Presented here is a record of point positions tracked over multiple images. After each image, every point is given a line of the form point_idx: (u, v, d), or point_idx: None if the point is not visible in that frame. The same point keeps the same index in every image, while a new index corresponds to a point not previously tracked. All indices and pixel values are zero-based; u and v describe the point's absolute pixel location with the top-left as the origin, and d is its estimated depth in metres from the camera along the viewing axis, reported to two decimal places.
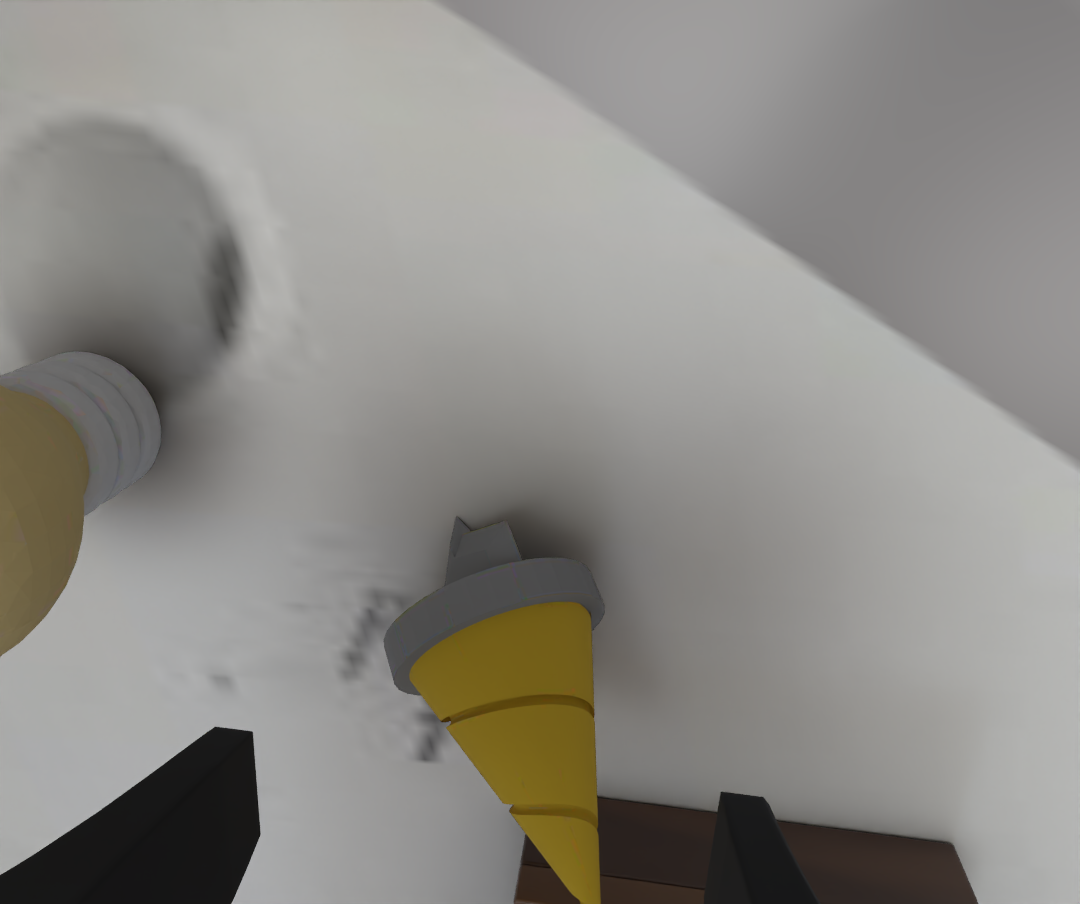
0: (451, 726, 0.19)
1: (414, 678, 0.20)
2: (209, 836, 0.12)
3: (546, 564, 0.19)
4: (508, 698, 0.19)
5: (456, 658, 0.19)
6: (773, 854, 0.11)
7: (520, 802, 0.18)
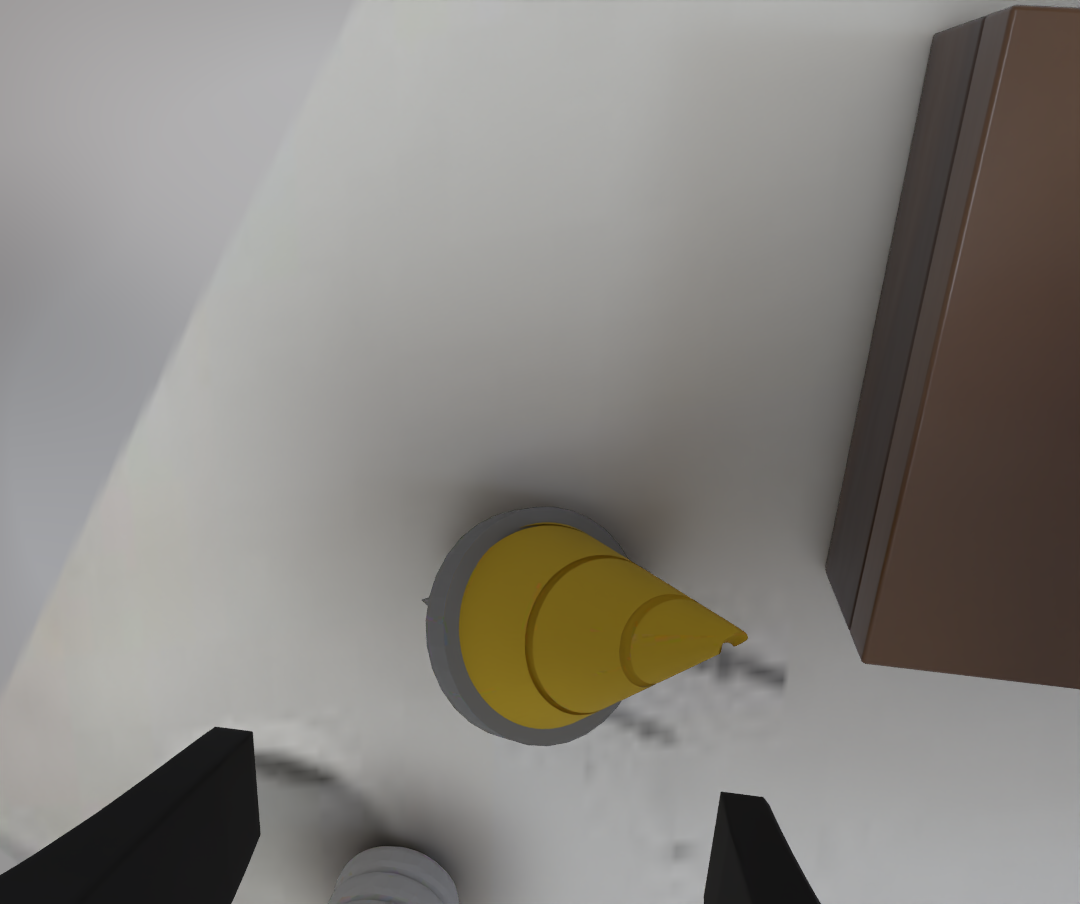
0: (580, 712, 0.18)
1: (550, 727, 0.19)
2: (209, 836, 0.12)
3: (437, 581, 0.19)
4: (533, 658, 0.17)
5: (499, 696, 0.18)
6: (773, 854, 0.11)
7: (626, 678, 0.16)
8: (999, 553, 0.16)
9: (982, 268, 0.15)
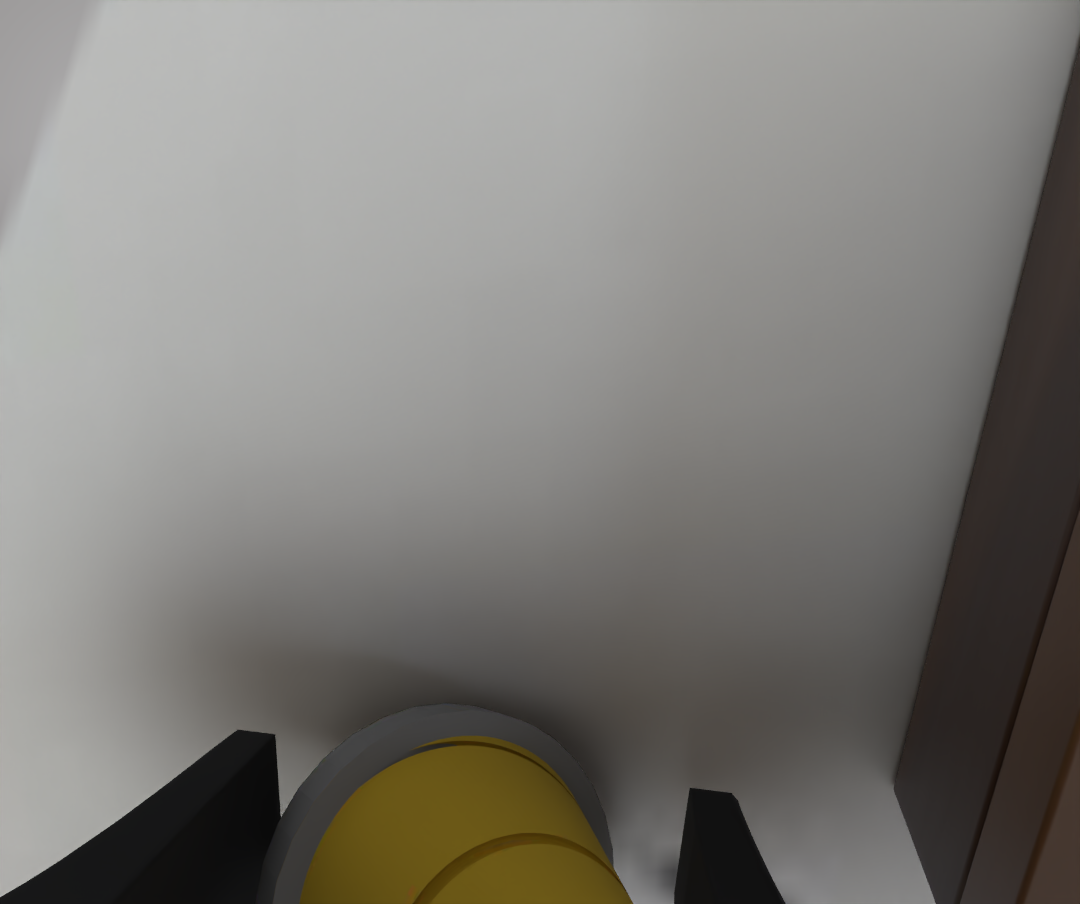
0: None
1: None
2: (234, 840, 0.12)
3: (275, 838, 0.12)
4: None
5: None
6: (738, 849, 0.11)
7: None
8: None
9: None
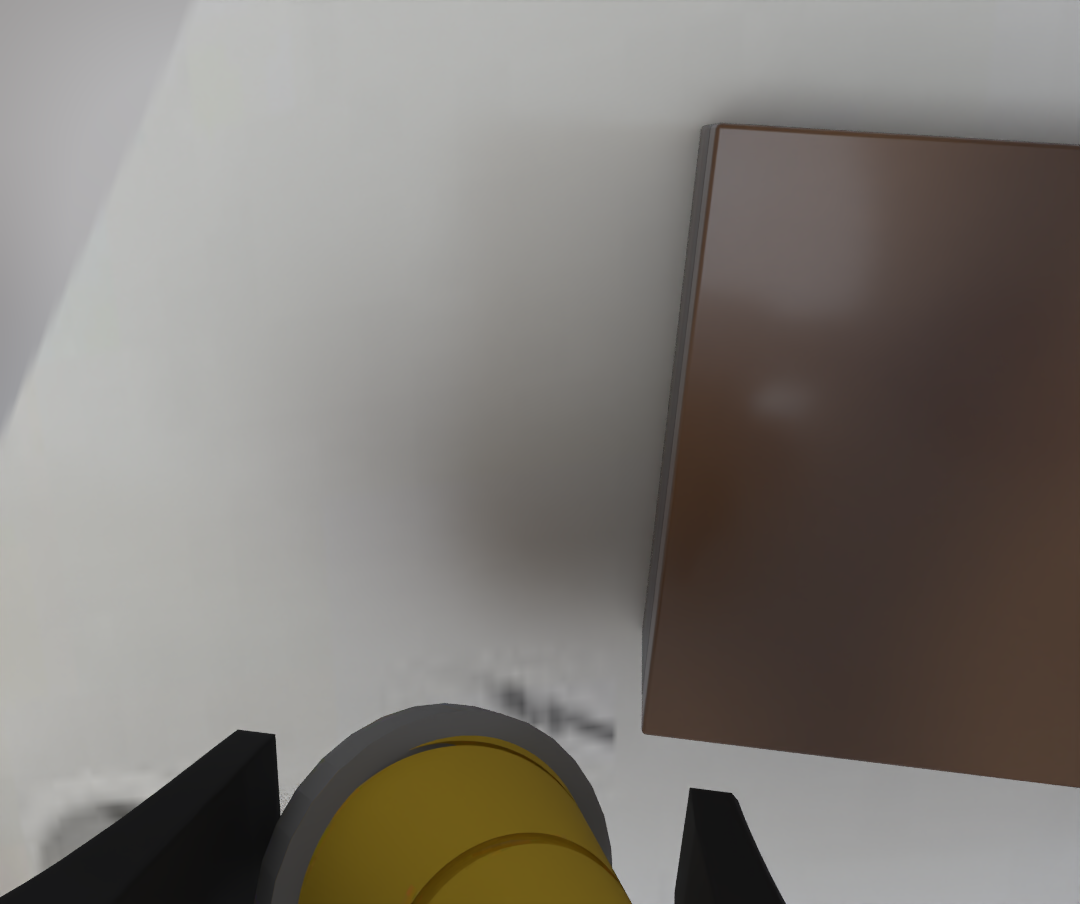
0: None
1: None
2: (234, 840, 0.12)
3: (274, 838, 0.12)
4: None
5: None
6: (738, 849, 0.11)
7: None
8: (759, 632, 0.17)
9: (714, 366, 0.15)
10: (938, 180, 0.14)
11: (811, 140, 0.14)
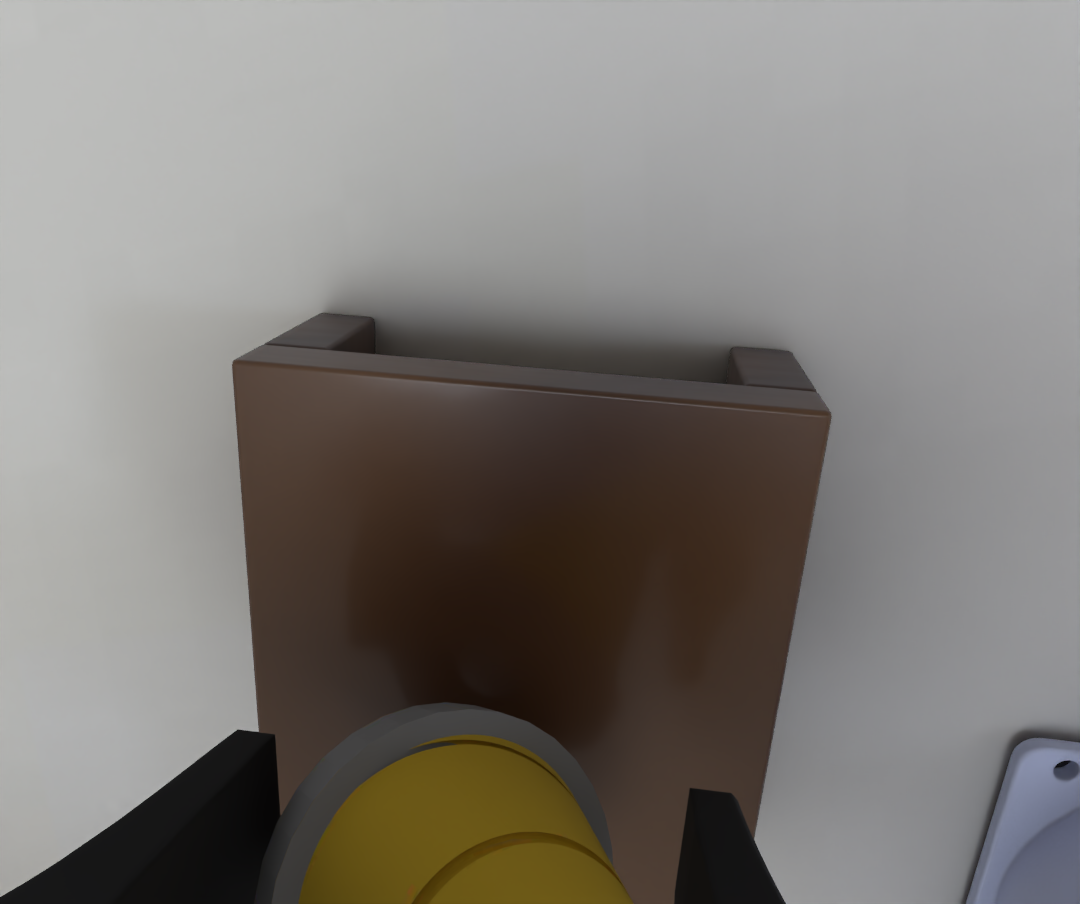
0: None
1: None
2: (234, 840, 0.12)
3: (274, 838, 0.12)
4: None
5: None
6: (738, 849, 0.11)
7: None
8: None
9: (272, 582, 0.15)
10: (447, 418, 0.14)
11: (322, 378, 0.14)
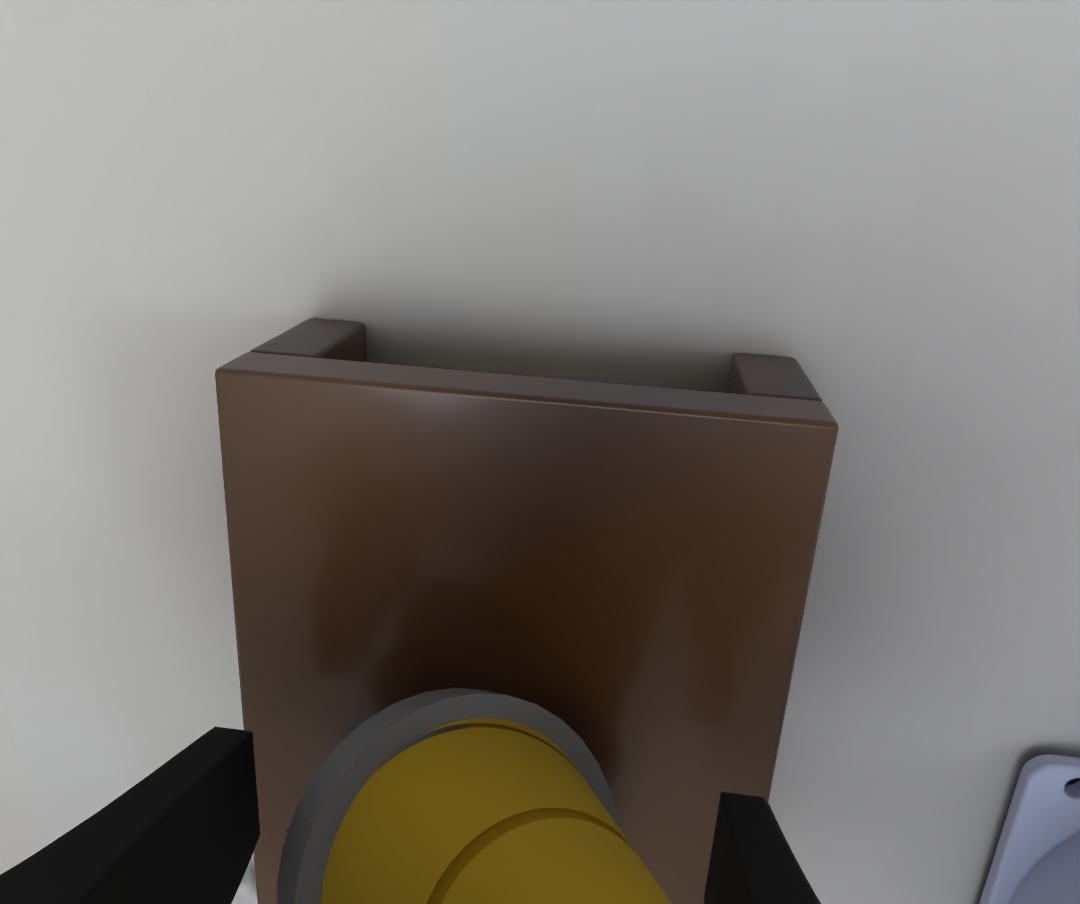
0: None
1: None
2: (209, 836, 0.12)
3: (295, 824, 0.12)
4: None
5: None
6: (773, 854, 0.11)
7: None
8: None
9: (258, 597, 0.15)
10: (439, 429, 0.13)
11: (308, 388, 0.13)
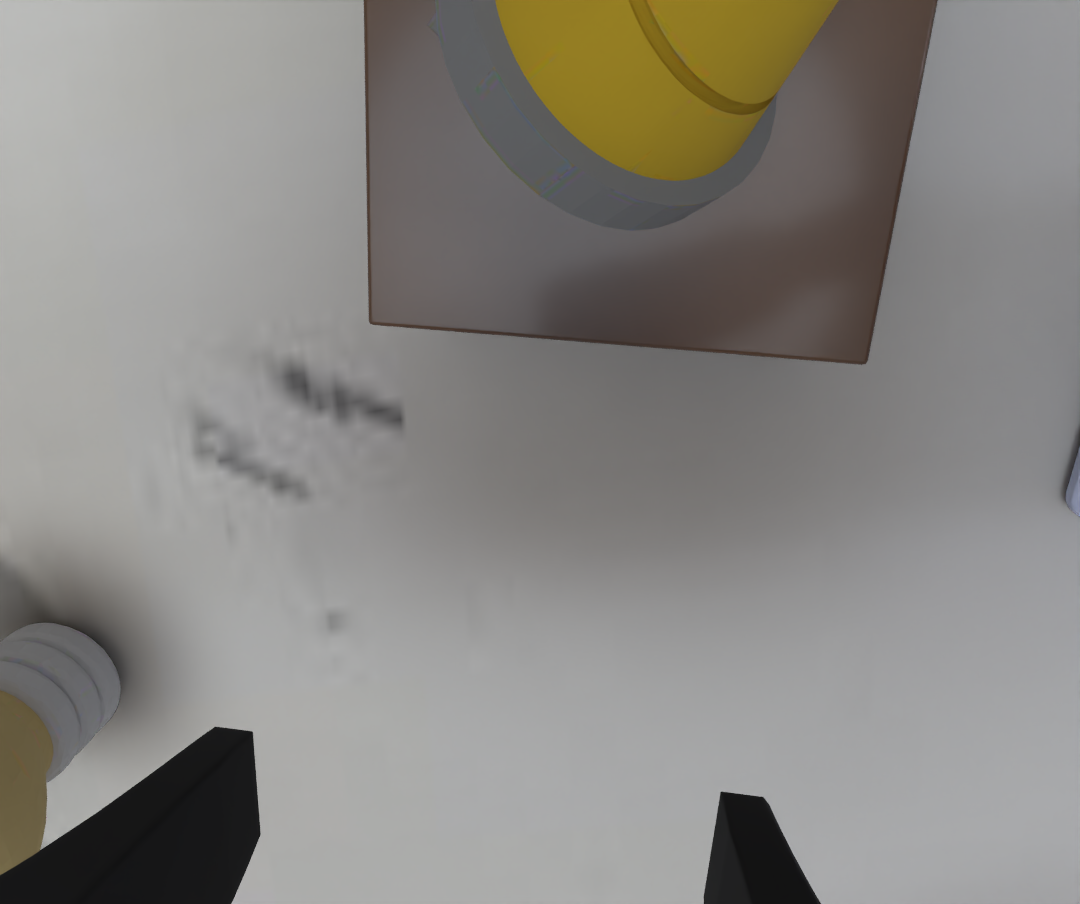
0: (703, 77, 0.10)
1: (642, 163, 0.11)
2: (209, 836, 0.12)
3: None
4: None
5: (563, 68, 0.11)
6: (773, 854, 0.11)
7: None
8: (474, 183, 0.16)
9: None
10: None
11: None
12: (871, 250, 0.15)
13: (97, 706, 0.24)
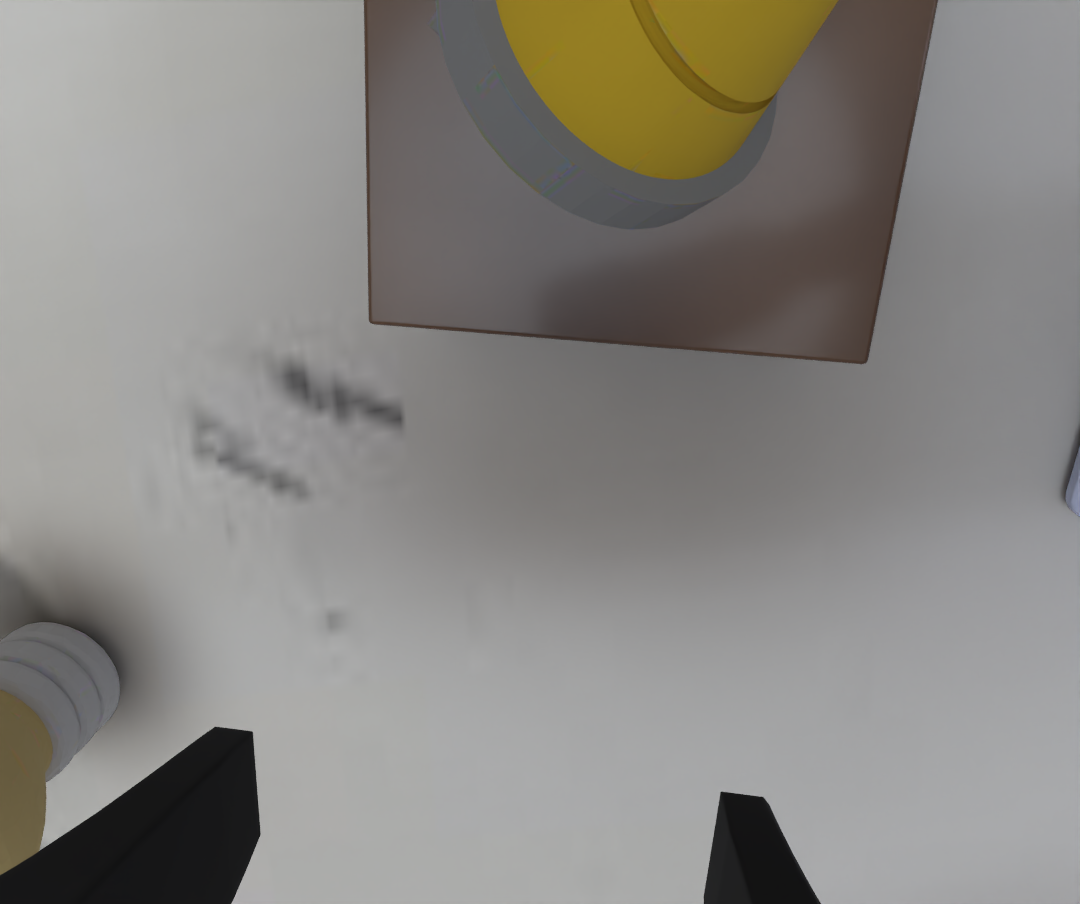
0: (703, 76, 0.10)
1: (643, 162, 0.11)
2: (209, 836, 0.12)
3: None
4: None
5: (563, 66, 0.11)
6: (773, 854, 0.11)
7: None
8: (474, 182, 0.16)
9: None
10: None
11: None
12: (871, 250, 0.15)
13: (96, 705, 0.24)
